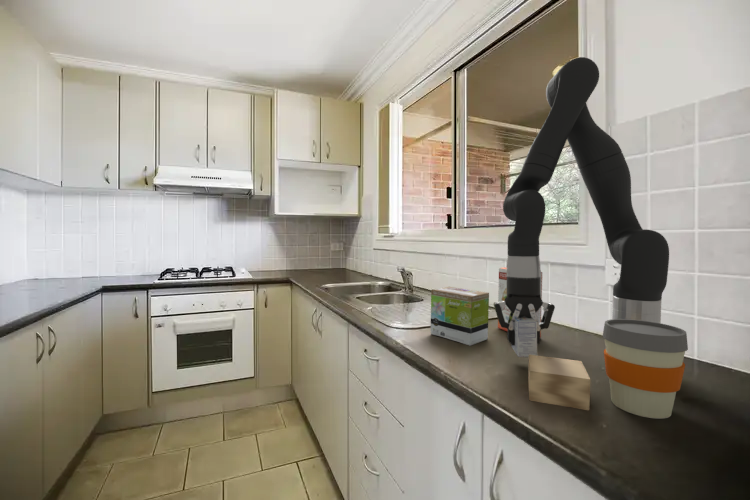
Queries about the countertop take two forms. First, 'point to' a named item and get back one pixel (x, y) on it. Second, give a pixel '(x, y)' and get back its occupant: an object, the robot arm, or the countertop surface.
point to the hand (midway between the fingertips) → (523, 344)
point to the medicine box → (525, 337)
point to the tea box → (460, 314)
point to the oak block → (558, 382)
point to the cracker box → (503, 293)
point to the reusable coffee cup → (644, 365)
